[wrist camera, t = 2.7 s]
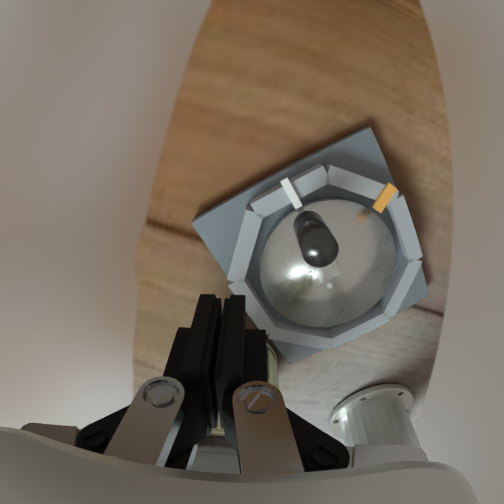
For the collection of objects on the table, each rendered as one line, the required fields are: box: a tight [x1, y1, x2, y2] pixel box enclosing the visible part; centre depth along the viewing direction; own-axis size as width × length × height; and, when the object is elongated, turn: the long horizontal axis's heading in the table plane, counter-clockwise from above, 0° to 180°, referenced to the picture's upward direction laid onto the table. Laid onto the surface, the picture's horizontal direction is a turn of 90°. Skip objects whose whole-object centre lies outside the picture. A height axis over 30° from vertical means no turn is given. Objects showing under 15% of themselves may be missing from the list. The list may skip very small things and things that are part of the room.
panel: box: [191, 127, 429, 364], centre depth 26 cm, size 18×17×3 cm
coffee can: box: [191, 342, 279, 474], centre depth 26 cm, size 10×10×14 cm
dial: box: [260, 197, 396, 327], centre depth 23 cm, size 12×12×6 cm
